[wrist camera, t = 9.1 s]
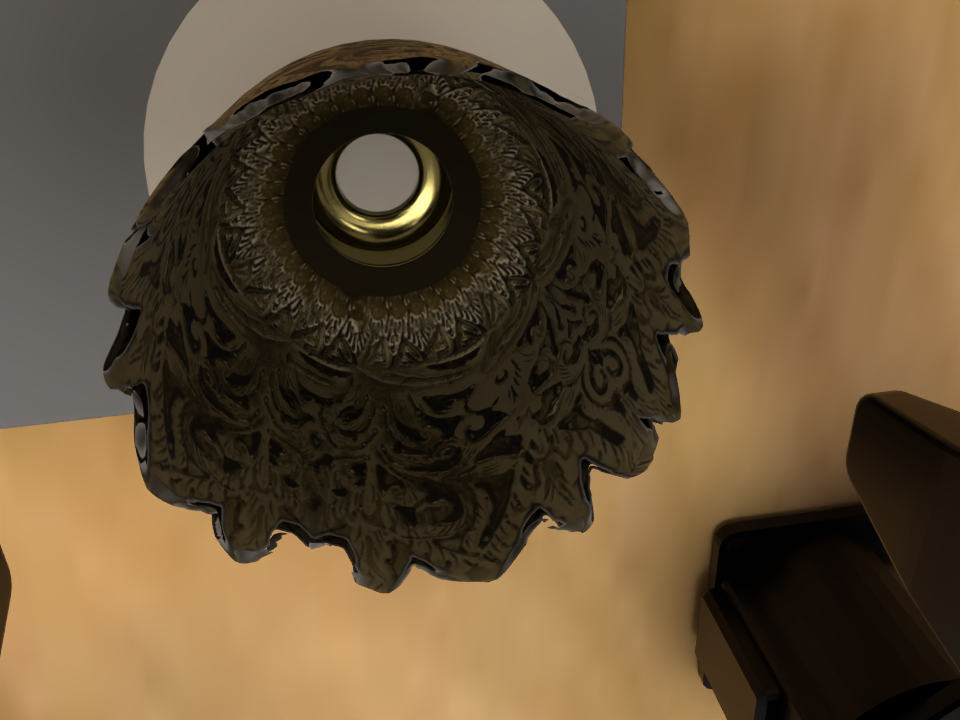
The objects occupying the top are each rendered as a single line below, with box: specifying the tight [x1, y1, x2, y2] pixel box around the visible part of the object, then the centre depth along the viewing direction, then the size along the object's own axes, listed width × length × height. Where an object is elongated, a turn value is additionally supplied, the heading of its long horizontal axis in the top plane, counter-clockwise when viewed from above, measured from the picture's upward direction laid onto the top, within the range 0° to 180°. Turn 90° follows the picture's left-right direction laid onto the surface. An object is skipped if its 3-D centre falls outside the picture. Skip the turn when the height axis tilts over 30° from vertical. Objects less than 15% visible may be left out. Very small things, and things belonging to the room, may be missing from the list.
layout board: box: [0, 0, 627, 429], centre depth 18 cm, size 20×10×2 cm, turn 92°
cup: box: [103, 39, 703, 593], centre depth 15 cm, size 8×7×8 cm
